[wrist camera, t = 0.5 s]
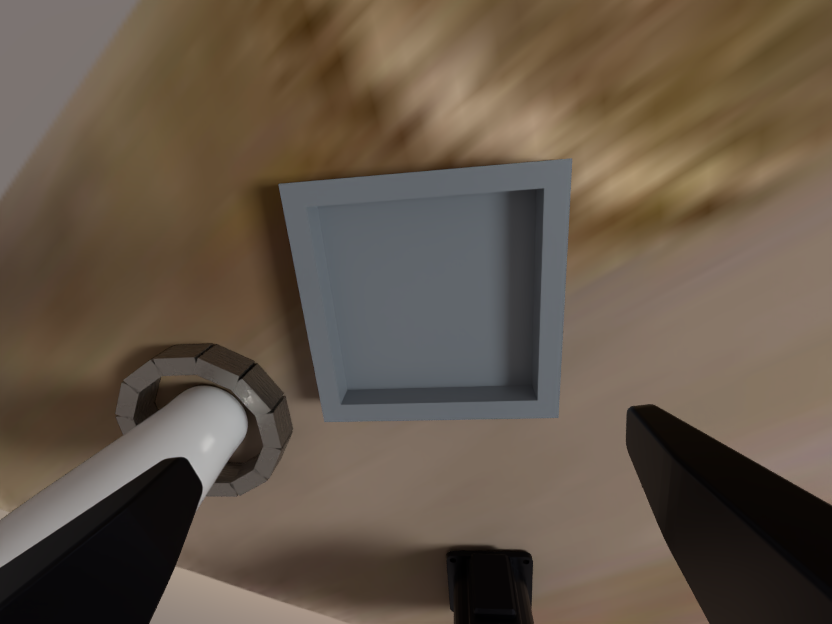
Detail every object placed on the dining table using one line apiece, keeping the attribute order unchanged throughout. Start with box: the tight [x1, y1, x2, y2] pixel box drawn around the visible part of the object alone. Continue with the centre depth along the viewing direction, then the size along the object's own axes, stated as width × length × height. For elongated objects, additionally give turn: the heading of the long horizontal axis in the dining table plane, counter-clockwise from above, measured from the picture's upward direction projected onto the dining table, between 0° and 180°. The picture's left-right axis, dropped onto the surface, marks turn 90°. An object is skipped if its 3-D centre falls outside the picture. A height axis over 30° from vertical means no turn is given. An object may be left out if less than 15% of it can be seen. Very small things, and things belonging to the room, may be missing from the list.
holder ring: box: [115, 344, 293, 496], centre depth 26 cm, size 11×11×2 cm
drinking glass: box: [0, 386, 248, 567], centre depth 20 cm, size 7×7×15 cm
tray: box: [278, 159, 572, 422], centre depth 22 cm, size 14×14×2 cm
